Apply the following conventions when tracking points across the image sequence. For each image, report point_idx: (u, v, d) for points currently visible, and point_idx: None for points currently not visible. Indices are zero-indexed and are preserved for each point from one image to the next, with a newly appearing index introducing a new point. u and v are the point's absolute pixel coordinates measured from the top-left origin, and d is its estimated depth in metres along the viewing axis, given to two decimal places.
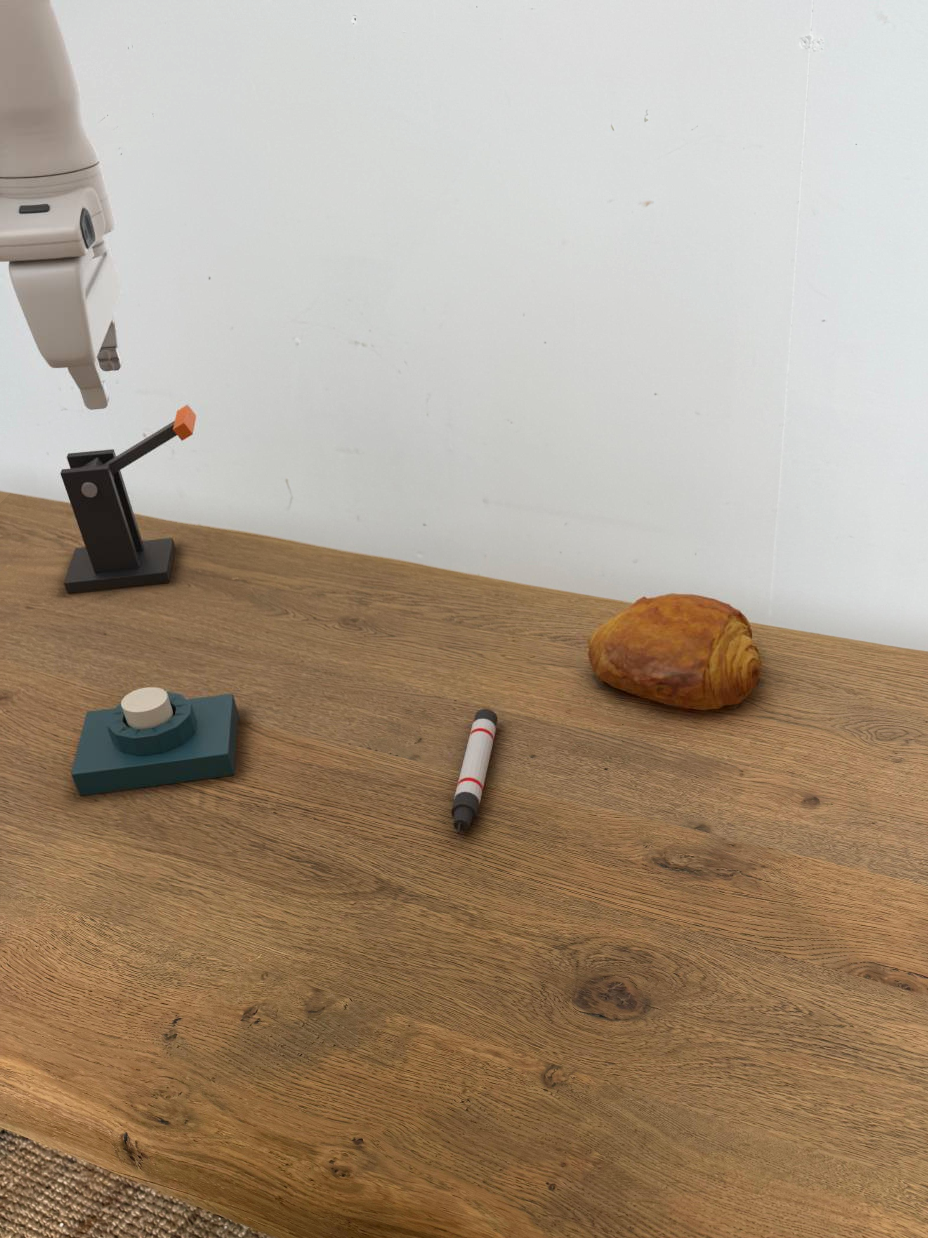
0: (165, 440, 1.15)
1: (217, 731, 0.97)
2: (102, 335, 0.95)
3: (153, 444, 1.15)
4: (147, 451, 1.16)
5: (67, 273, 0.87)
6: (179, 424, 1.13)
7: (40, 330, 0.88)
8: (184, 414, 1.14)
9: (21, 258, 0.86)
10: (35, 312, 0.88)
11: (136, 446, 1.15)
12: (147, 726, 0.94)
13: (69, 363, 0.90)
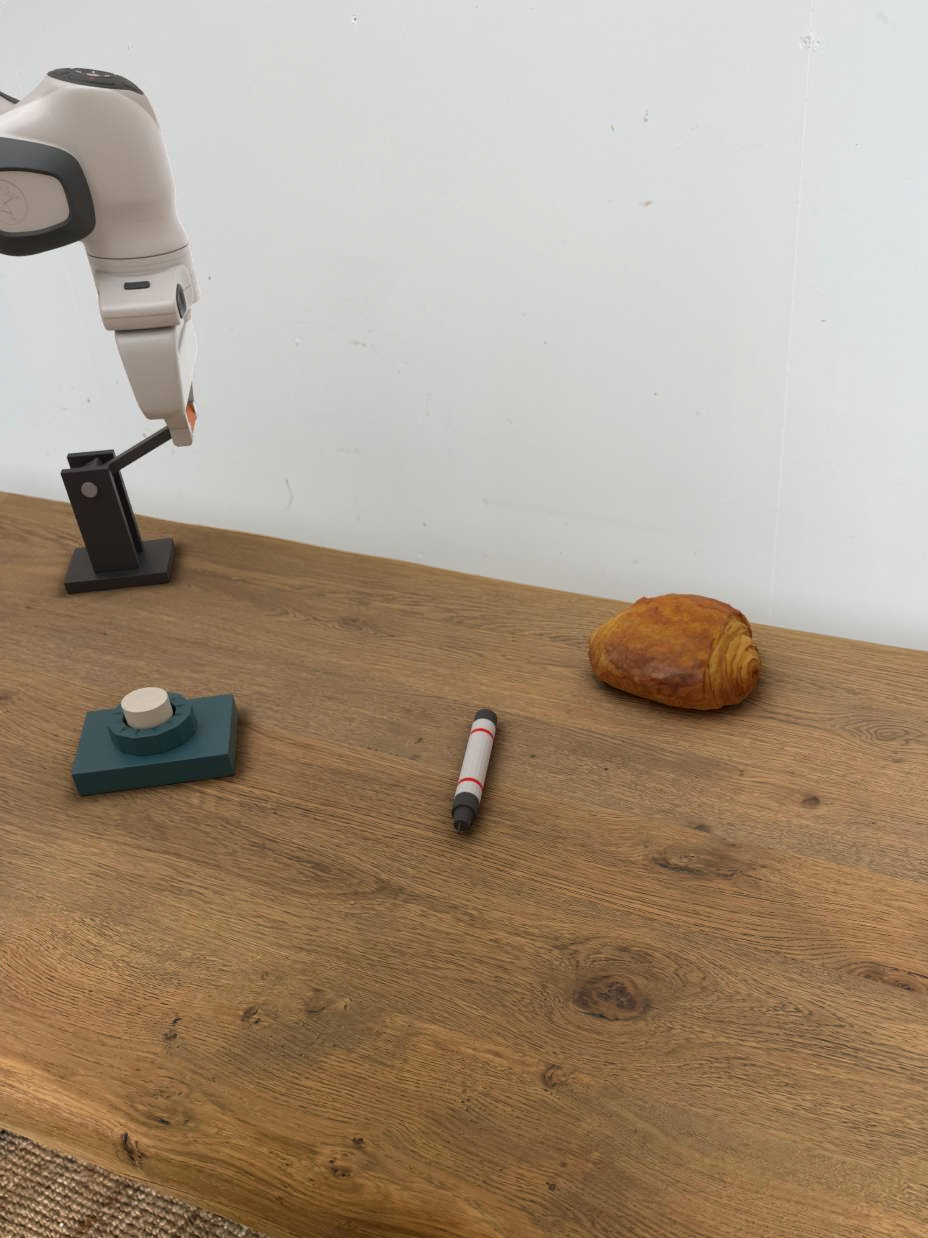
0: (165, 440, 1.15)
1: (217, 731, 0.97)
2: (188, 389, 1.09)
3: (153, 444, 1.15)
4: (147, 451, 1.16)
5: (164, 340, 1.02)
6: None
7: (140, 388, 1.03)
8: None
9: (126, 328, 1.01)
10: (137, 373, 1.02)
11: (136, 446, 1.15)
12: (147, 726, 0.94)
13: (163, 416, 1.05)
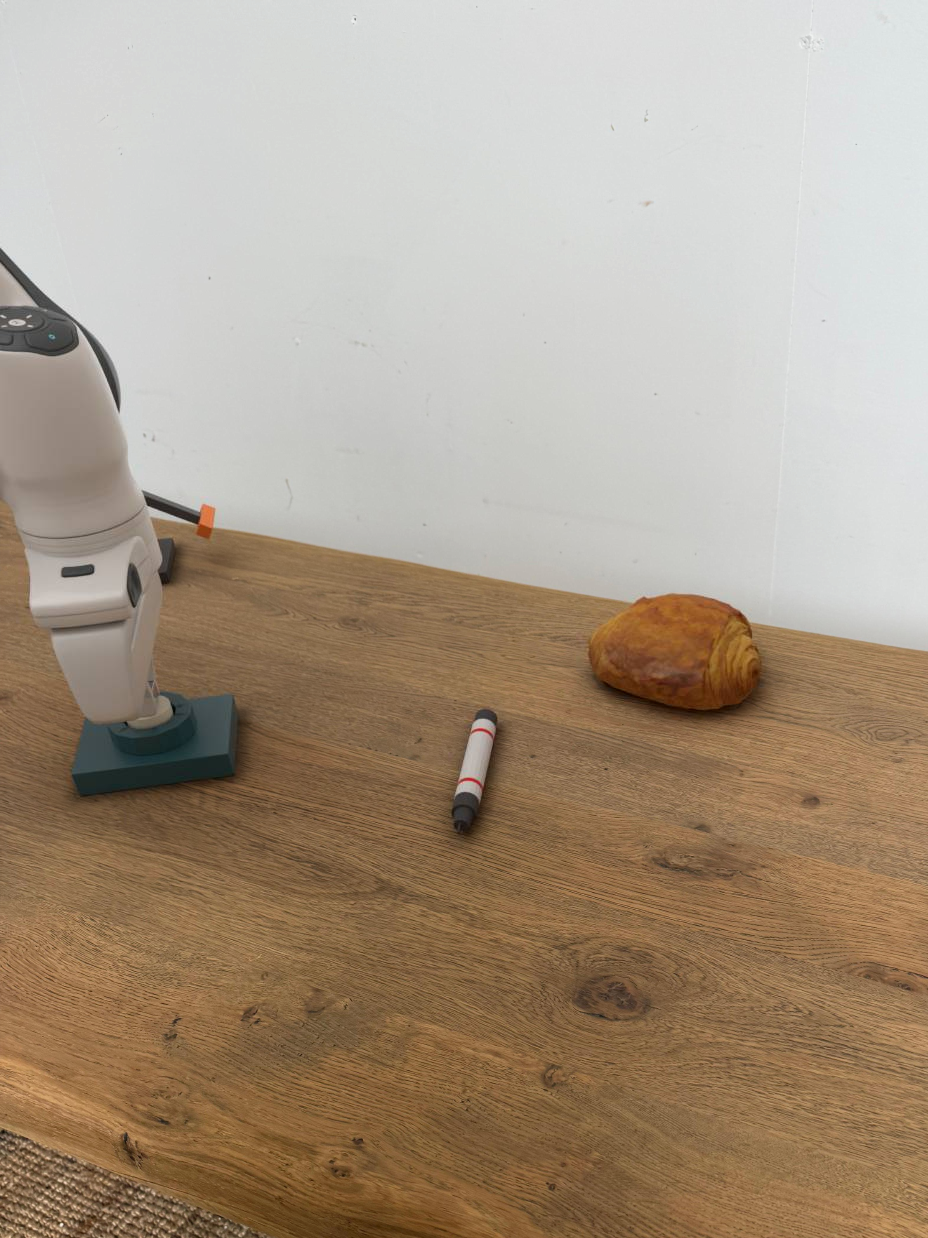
0: (179, 516, 1.20)
1: (217, 731, 0.97)
2: (147, 674, 0.89)
3: (168, 510, 1.20)
4: (157, 508, 1.19)
5: (112, 638, 0.81)
6: (207, 525, 1.20)
7: (83, 694, 0.82)
8: (212, 518, 1.21)
9: (64, 626, 0.80)
10: (79, 678, 0.82)
11: (153, 497, 1.19)
12: None
13: (113, 721, 0.84)
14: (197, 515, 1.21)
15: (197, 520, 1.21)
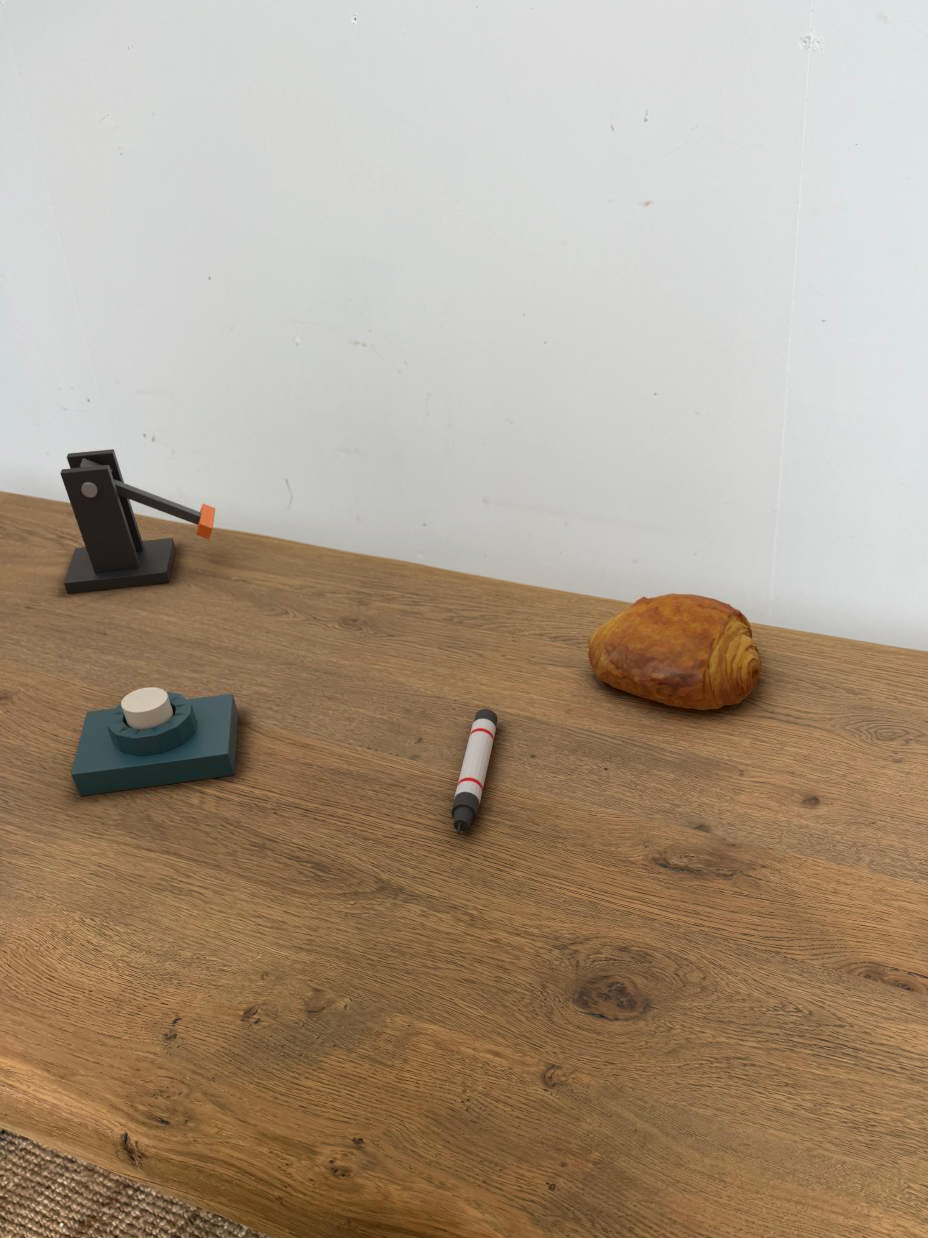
0: (179, 516, 1.20)
1: (217, 731, 0.97)
2: None
3: (168, 510, 1.20)
4: (157, 508, 1.19)
5: None
6: (207, 525, 1.20)
7: None
8: (212, 518, 1.21)
9: None
10: None
11: (153, 497, 1.19)
12: (147, 726, 0.94)
13: None
14: (197, 515, 1.21)
15: (197, 520, 1.21)
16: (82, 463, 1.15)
